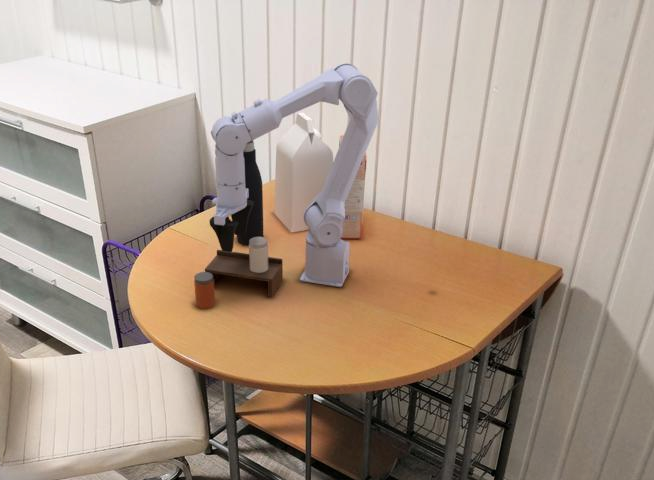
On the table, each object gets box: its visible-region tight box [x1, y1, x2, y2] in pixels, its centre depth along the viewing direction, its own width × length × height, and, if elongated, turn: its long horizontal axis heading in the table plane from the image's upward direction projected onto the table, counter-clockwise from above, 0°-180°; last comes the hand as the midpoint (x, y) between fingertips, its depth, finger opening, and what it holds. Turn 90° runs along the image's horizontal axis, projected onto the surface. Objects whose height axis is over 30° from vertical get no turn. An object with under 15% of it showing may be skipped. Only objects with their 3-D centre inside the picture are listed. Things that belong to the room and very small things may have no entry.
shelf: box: [204, 249, 284, 299], centre depth 159 cm, size 15×8×6 cm, turn 73°
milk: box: [273, 112, 334, 233], centre depth 180 cm, size 12×12×26 cm
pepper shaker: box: [193, 271, 216, 310], centre depth 152 cm, size 4×4×6 cm
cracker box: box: [338, 135, 368, 239], centre depth 178 cm, size 14×6×21 cm, turn 179°
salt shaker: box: [248, 237, 269, 273], centre depth 155 cm, size 4×4×6 cm
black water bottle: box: [236, 140, 265, 247], centre depth 169 cm, size 6×6×30 cm
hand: (233, 242), depth 154 cm, fingers open, 7 cm apart
